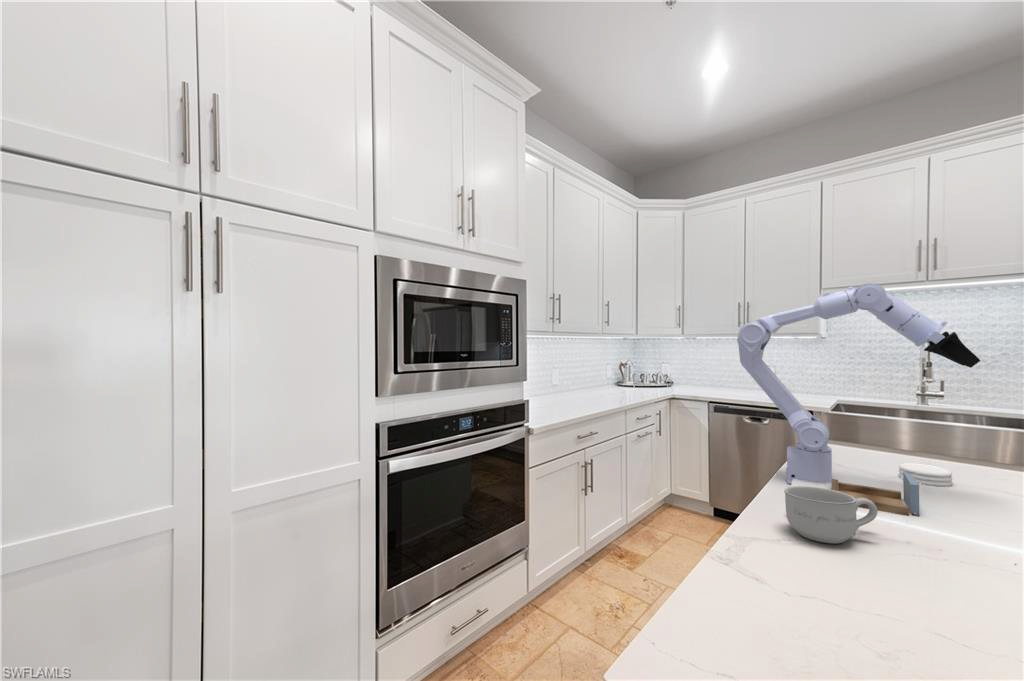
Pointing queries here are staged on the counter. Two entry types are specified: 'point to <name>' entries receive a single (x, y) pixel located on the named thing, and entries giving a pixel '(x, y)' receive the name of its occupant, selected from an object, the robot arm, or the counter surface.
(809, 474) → the robot arm
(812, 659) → the counter surface
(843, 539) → the teacup
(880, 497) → the wooden tray
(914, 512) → the tailgate
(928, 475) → the coaster
